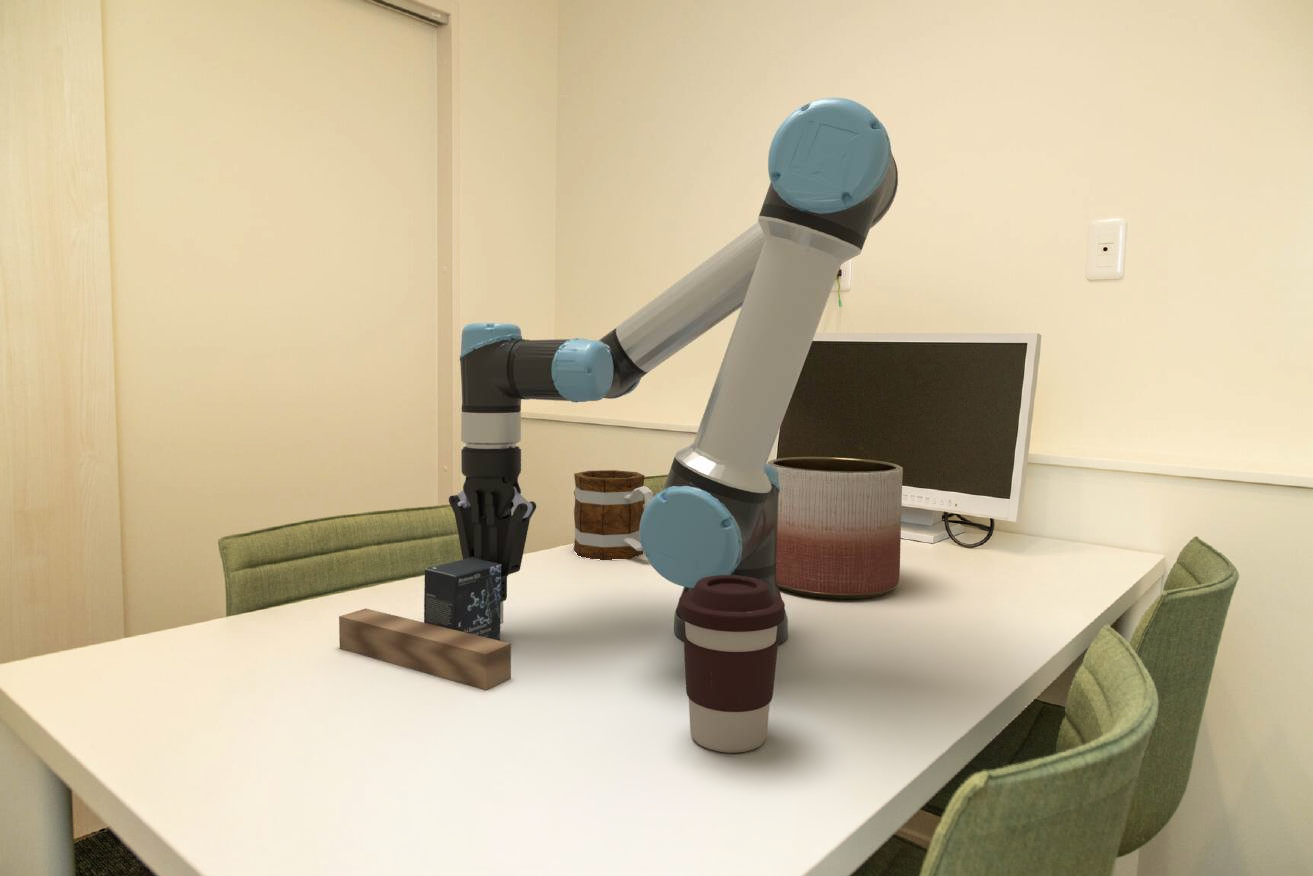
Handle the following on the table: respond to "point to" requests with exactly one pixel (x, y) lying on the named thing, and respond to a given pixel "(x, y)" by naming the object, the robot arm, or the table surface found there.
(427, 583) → the box
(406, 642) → the brown wooden bar
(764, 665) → the coffee cup
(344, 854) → the table surface
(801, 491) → the planter
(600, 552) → the mug
